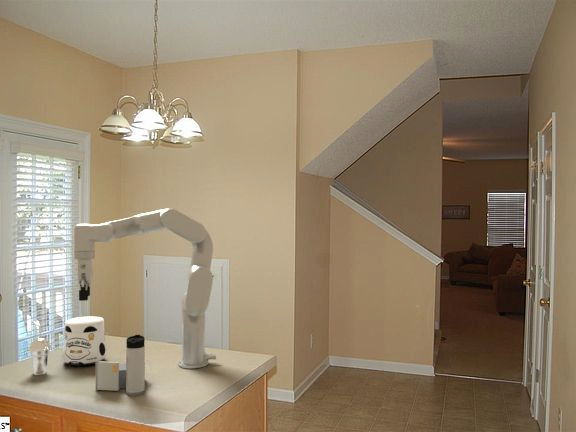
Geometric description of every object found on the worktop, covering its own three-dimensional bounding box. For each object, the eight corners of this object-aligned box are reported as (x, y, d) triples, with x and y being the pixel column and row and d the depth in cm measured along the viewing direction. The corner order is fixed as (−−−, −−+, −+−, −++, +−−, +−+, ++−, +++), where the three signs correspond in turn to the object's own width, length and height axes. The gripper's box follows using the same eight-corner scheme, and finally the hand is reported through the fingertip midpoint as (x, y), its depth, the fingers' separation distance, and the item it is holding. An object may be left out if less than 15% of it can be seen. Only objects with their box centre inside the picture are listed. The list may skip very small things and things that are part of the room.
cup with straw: (28, 377, 194) (28, 326, 193) (27, 371, 201) (27, 321, 201) (52, 374, 198) (52, 323, 198) (50, 368, 206) (50, 319, 205)
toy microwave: (144, 379, 193) (144, 360, 193) (143, 387, 184) (143, 367, 184) (100, 382, 190) (100, 362, 189) (97, 390, 181) (97, 370, 181)
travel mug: (146, 389, 183) (146, 334, 182) (141, 396, 176) (142, 339, 176) (129, 389, 182) (129, 334, 182) (123, 396, 176) (124, 339, 175)
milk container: (66, 371, 202) (66, 326, 201) (59, 360, 216) (59, 318, 216) (111, 364, 211) (111, 321, 211) (101, 354, 226) (101, 314, 225)
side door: (119, 390, 180) (119, 361, 180) (117, 392, 179) (117, 363, 179) (96, 389, 182) (96, 360, 181) (94, 390, 180) (94, 361, 180)
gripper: (93, 257, 192) (93, 301, 192) (96, 253, 208) (96, 294, 208) (71, 257, 189) (71, 302, 190) (76, 253, 206) (76, 295, 206)
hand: (84, 298), depth 199 cm, fingers open, 9 cm apart
